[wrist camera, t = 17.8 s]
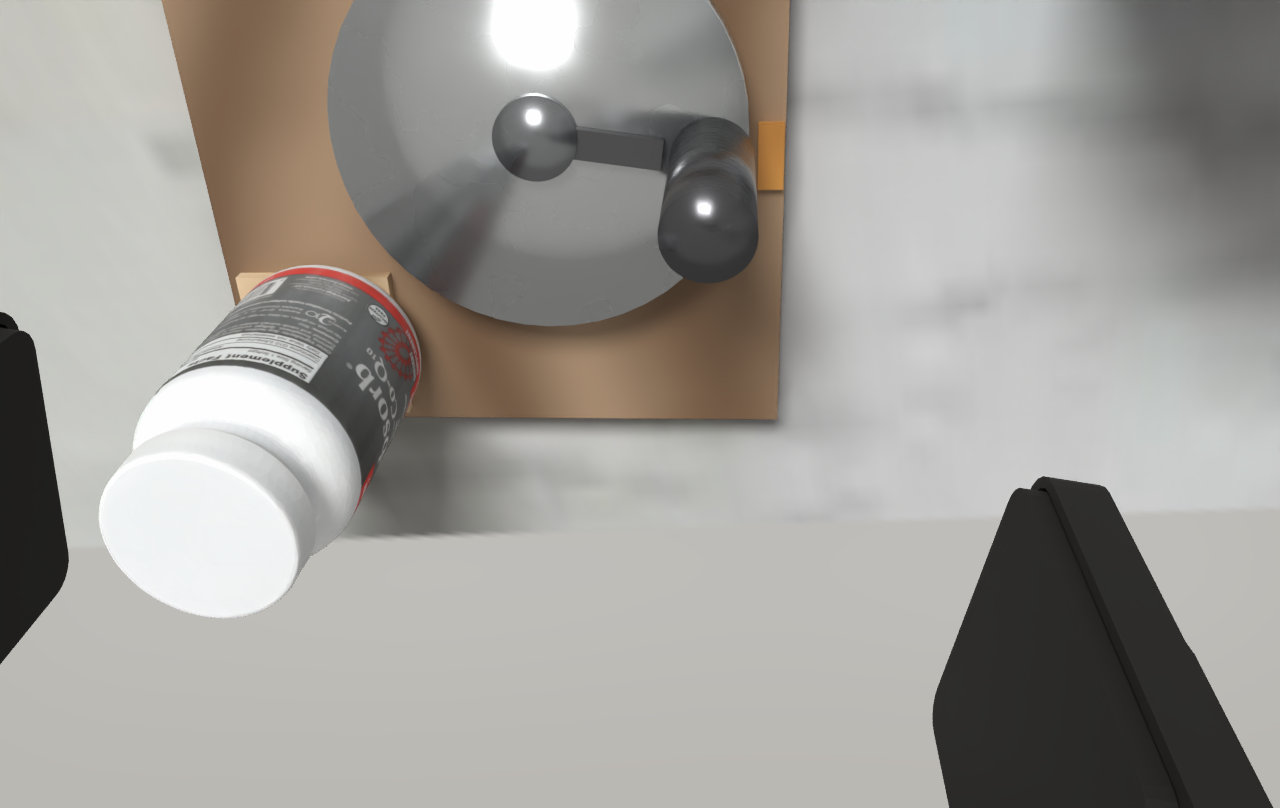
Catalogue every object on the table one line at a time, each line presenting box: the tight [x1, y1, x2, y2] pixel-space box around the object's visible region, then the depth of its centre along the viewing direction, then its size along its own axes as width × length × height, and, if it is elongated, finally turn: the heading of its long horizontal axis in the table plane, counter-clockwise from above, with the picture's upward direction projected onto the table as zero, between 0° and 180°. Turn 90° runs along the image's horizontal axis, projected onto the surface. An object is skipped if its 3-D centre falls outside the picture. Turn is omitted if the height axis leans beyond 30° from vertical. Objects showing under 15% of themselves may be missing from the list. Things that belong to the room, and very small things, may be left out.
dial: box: [327, 0, 759, 326], centre depth 27 cm, size 11×11×6 cm
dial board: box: [162, 0, 790, 419], centre depth 31 cm, size 16×16×2 cm
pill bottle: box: [99, 265, 421, 618], centre depth 29 cm, size 6×6×10 cm
